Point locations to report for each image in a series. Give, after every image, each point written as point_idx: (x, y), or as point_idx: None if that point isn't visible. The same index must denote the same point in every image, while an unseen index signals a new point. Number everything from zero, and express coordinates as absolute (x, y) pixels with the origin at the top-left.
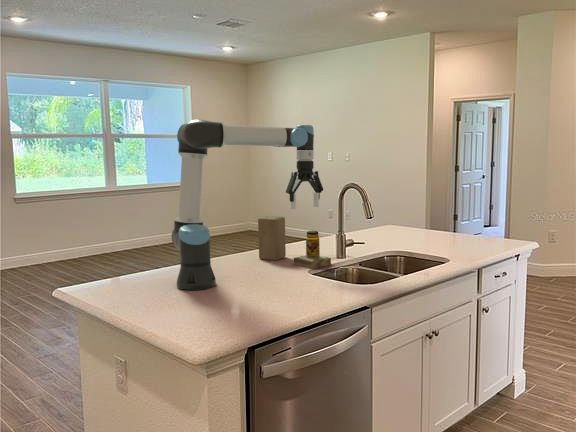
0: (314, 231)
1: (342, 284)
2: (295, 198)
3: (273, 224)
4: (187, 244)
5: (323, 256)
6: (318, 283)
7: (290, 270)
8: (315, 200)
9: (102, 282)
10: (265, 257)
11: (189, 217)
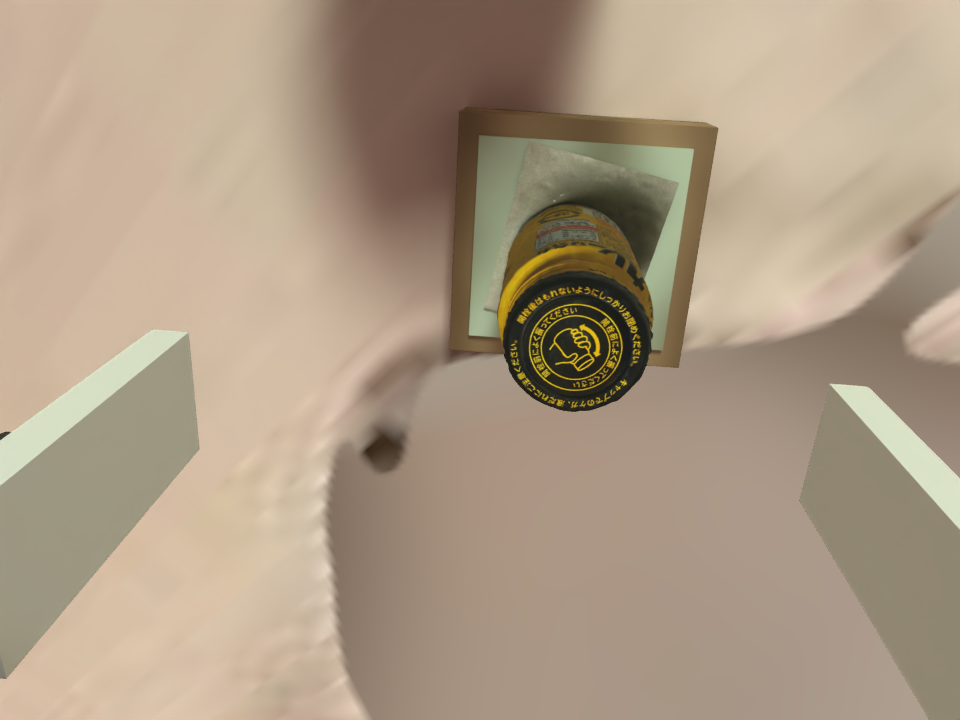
0: (614, 347)
1: (320, 683)
2: (61, 592)
3: None
4: None
5: (667, 301)
6: (233, 589)
7: (306, 247)
8: (872, 527)
9: None
10: None
11: None
